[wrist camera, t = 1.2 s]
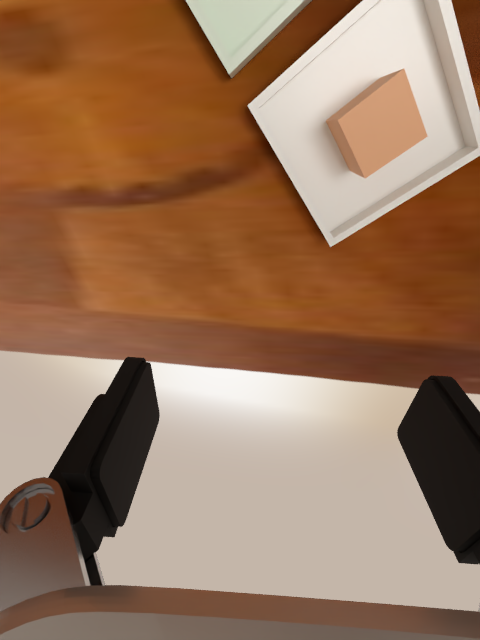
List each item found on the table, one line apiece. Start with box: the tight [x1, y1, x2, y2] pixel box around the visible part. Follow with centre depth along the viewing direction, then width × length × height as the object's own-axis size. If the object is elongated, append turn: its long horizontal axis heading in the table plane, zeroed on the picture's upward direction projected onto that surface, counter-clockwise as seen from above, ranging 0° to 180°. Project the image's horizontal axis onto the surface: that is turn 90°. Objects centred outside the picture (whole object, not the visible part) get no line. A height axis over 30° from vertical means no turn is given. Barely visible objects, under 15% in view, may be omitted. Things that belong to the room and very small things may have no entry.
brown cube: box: [326, 69, 428, 178], centre depth 24 cm, size 5×5×5 cm
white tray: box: [247, 0, 480, 247], centre depth 26 cm, size 15×15×2 cm
